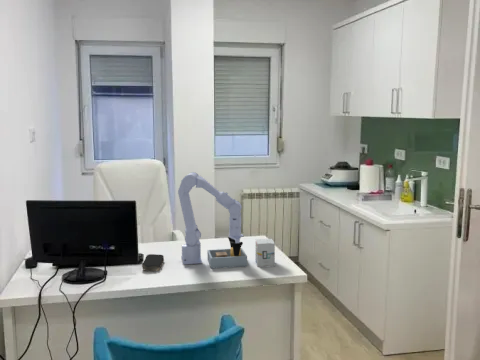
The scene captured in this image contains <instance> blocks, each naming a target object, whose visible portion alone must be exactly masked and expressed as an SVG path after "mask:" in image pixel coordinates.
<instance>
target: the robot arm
mask: <svg viewBox="0 0 480 360" xmlns="http://www.w3.org/2000/svg"><path fill="white" fill-rule="evenodd" d="M194 187H195V189H196V188H197V189H198V188H200V189H203V190H205V191H206V192H208V193H209V194H210V195H212V196H213V197H215V200H216V203H218V204H219V205H221V206H222V207H223V208H225V209H227V210H228V212H229V217H228V222H229V224H228V225H229V227H228V229H229V230H228V236H227V239H228V241H229V245H230V248H231V247H233V252H234V256H239V252H240V248H242V246H243V244H244V243H243V241H241V238H243V237H244V234H243V233H242V212H241V210H242V209H243V206H242V204H241V203H240V201H239V200H237V199H236V198H233V197H231V196H230V195H229V193H228V192H225V191H219V190H218V189H217V188H216V187H214V186H213V185H212V184H211V183H210V182H208V180H207V179H206V178H205V177H203V176H202V175H199V174H198V173H197V172H194V171H192V172H189V173H188V174H186V175H185V176H184V177H183V178H182V179H181V181H180V185H179V188H178V191H177V194H178V198H179V199H178V200H179V203H180V207H181V212H182V217H183V221H184V225H185V229H184V231H185V238H184V241H185V244H181V262H182V265H194V264H203V261H202V255H201V254H202V253H201V251H202V250H201V246H202V245H201V241H200V239H201V236H202V233H201V231H200V229H199V226H198V225H197V223H196V220H195V214H194V209H193V205H192V201H191V197H190V192H191V190H192V189H193V188H194Z"/></svg>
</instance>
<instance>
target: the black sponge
mask: <svg viewBox="0 0 480 360" xmlns="http://www.w3.org/2000/svg"><path fill="white" fill-rule="evenodd" d="M164 257H165V256H164V255H163V254H155V253H154V254H153V253H150V254H147V255H146V257H145V259H144V260H143V262H142V264H141V268H142V270H143V271H152V272H153V271H154V272H159V271H161V266H162V264H163V263H164V261H165V259H164Z"/></svg>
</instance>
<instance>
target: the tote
mask: <svg viewBox="0 0 480 360" xmlns="http://www.w3.org/2000/svg"><path fill="white" fill-rule="evenodd" d="M206 252H207V253H206V254H207V262H208V264H209V267H210V269H225V268H224V267H227V268H240V267H241V268H242V267H247V266H248V256H247V255H248V254H246V252H245V251H244V249H243V248H242V247H241V256H234V257H231V248H221V249H219V248H218V249H207V251H206ZM216 252H226V253H227V257H216Z"/></svg>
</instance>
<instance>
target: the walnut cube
mask: <svg viewBox="0 0 480 360" xmlns="http://www.w3.org/2000/svg"><path fill="white" fill-rule="evenodd" d="M216 257H227V253H226V252H216Z"/></svg>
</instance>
